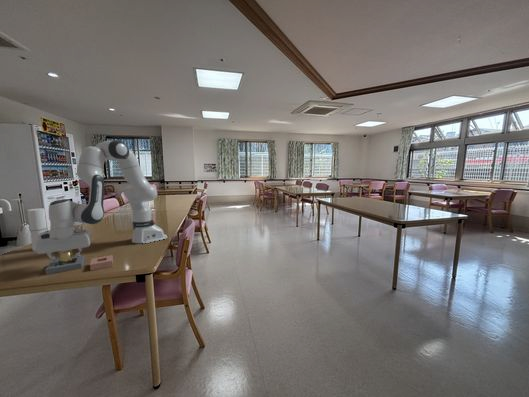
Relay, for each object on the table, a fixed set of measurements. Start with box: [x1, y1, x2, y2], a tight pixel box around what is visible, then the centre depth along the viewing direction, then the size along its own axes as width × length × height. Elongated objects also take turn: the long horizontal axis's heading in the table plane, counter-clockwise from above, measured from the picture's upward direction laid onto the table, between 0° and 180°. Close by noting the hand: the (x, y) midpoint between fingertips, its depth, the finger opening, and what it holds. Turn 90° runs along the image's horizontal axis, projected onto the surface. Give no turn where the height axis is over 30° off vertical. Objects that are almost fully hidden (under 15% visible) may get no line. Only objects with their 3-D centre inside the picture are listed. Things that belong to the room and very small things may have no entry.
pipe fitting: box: [58, 249, 74, 265], centre depth 111 cm, size 6×6×8 cm
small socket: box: [89, 254, 114, 271], centre depth 113 cm, size 9×9×3 cm
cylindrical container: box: [27, 207, 48, 252], centre depth 135 cm, size 7×7×25 cm
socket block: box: [44, 254, 85, 275], centre depth 112 cm, size 13×13×2 cm
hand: (66, 258), depth 111 cm, fingers open, 8 cm apart
